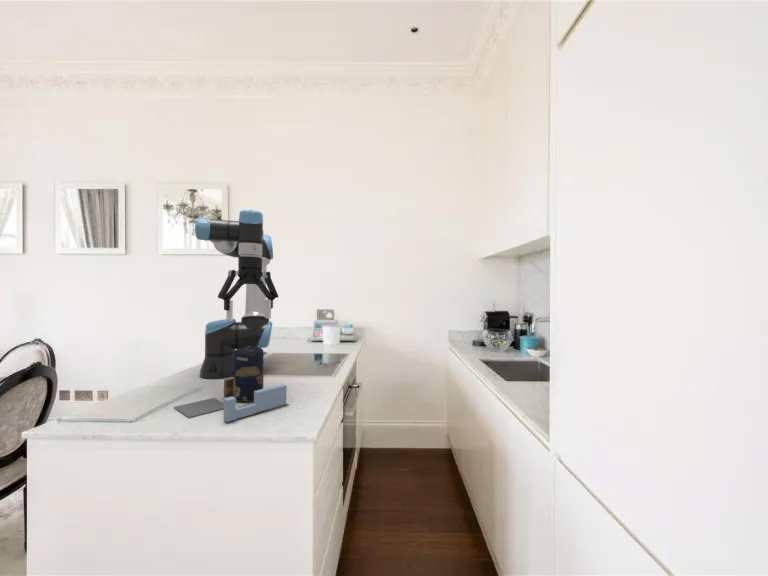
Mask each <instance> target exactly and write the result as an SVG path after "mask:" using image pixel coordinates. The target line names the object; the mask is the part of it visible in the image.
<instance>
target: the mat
mask: <svg viewBox="0 0 768 576" xmlns="http://www.w3.org/2000/svg"><path fill="white" fill-rule="evenodd" d="M173 409H175V410H176V411H177V412H179V413H180V414H182V415H183V416H184V417H186V418H187V419H191V418H195V417H200V416H204V415H206V414H210V413H214V412H218V411H224V401H221V400H219V399H217V398H215V397H210V398H206V399H202V400H198V401H194V402H190V403H185V404H181V405H175V406H173Z"/></svg>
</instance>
